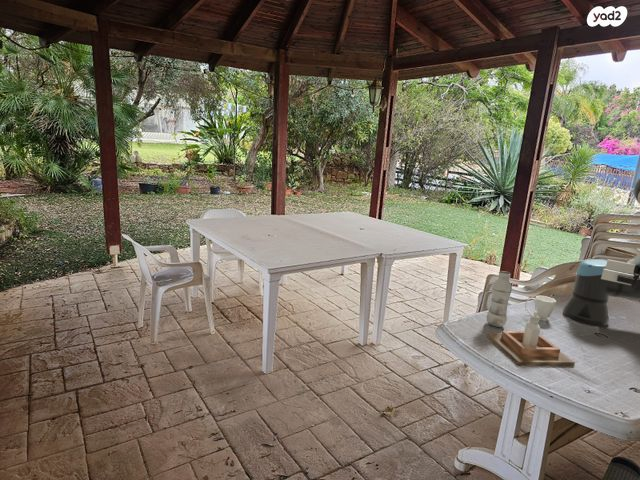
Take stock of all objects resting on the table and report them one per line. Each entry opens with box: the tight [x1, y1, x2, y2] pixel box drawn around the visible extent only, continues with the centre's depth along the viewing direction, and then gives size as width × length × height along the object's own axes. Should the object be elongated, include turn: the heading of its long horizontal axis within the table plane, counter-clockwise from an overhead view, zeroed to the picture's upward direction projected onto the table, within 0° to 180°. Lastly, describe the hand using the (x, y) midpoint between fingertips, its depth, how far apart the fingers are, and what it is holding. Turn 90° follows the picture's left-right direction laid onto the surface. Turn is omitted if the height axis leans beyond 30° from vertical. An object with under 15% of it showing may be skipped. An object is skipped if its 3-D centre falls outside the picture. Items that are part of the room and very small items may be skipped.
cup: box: [524, 294, 557, 322], centre depth 154 cm, size 7×10×8 cm
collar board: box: [486, 330, 576, 367], centre depth 127 cm, size 18×18×4 cm
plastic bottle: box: [486, 270, 513, 328], centre depth 143 cm, size 6×7×20 cm
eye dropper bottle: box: [522, 311, 541, 347], centre depth 126 cm, size 4×6×12 cm
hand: (604, 268), depth 113 cm, fingers open, 13 cm apart
